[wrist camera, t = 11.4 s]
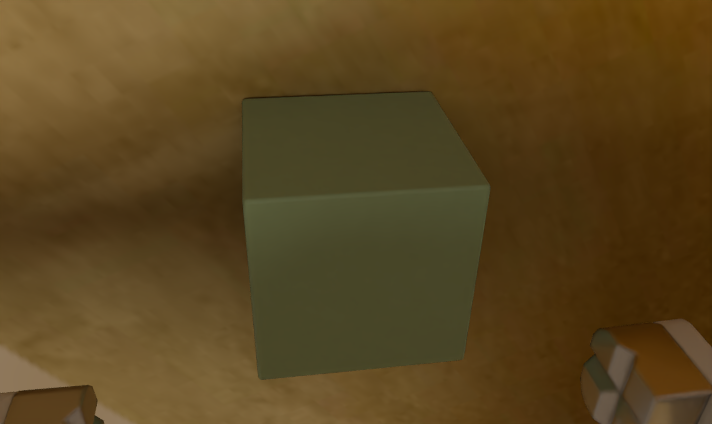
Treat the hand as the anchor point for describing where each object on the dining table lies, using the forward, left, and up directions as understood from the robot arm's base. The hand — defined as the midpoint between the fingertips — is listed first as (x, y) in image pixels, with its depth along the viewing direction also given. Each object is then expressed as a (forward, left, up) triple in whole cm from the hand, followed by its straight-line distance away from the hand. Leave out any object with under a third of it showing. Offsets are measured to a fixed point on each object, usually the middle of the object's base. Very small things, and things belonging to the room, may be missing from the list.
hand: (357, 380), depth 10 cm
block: (-1, 0, -7) cm, 7 cm away
